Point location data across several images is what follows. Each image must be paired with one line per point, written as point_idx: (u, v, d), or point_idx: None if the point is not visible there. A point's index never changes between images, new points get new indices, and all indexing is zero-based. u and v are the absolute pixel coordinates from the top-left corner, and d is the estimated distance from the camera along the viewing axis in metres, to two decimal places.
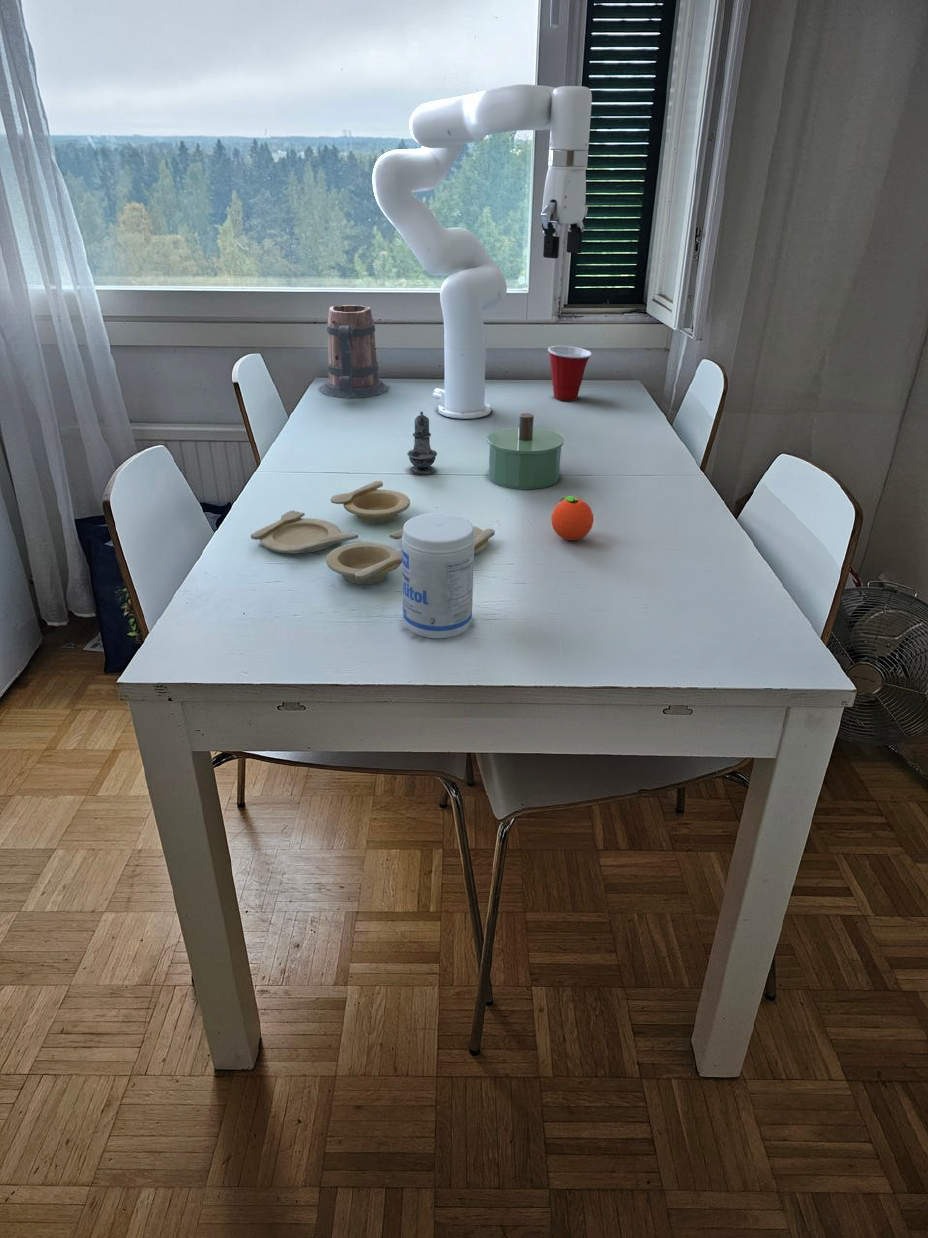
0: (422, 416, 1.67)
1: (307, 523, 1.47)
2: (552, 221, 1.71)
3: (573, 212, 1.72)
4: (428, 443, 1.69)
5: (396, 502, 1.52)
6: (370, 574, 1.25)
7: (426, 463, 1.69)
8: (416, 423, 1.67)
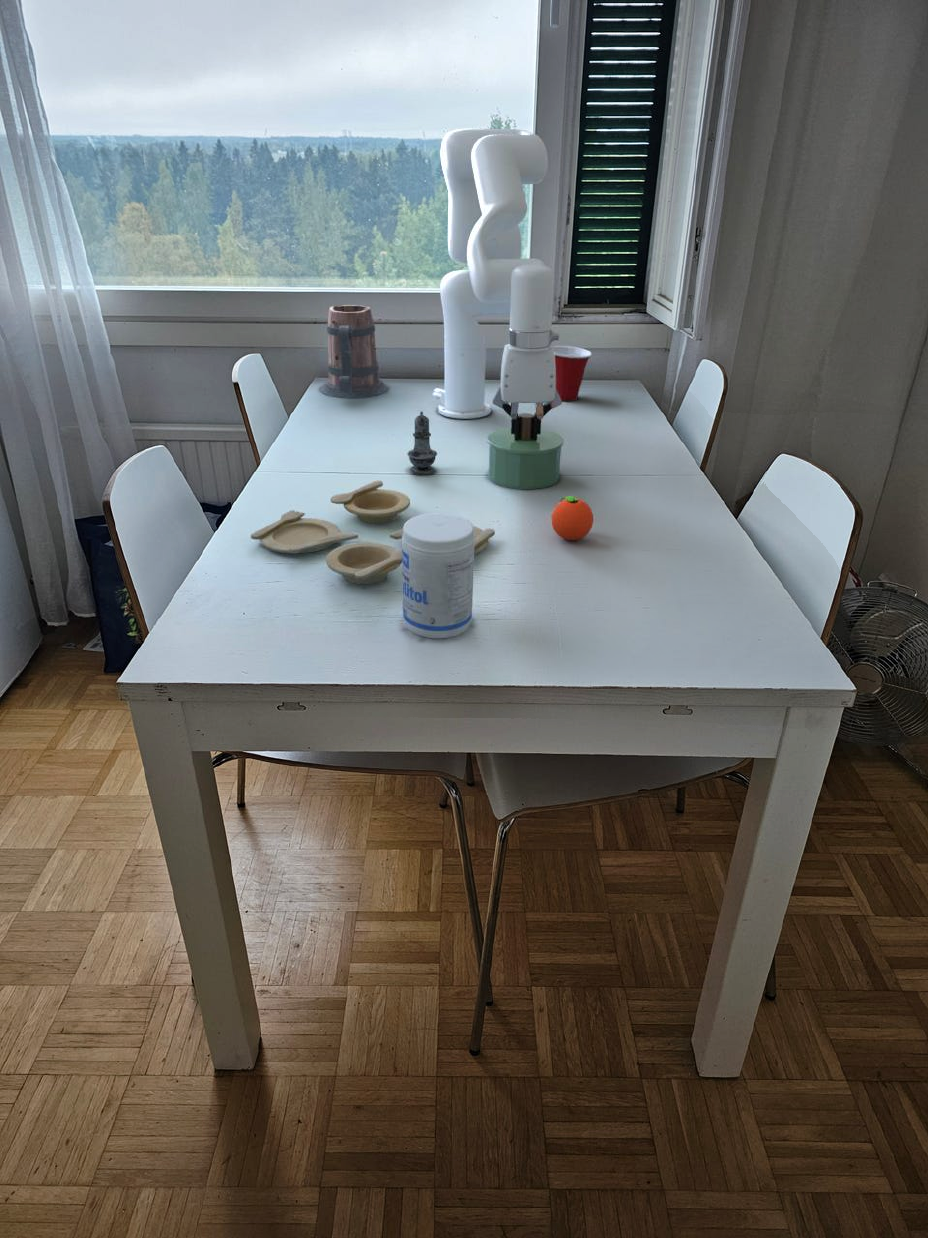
0: (422, 416, 1.67)
1: (307, 522, 1.47)
2: None
3: (524, 392, 1.60)
4: (428, 443, 1.69)
5: (396, 502, 1.52)
6: (370, 574, 1.25)
7: (426, 463, 1.69)
8: (416, 423, 1.67)
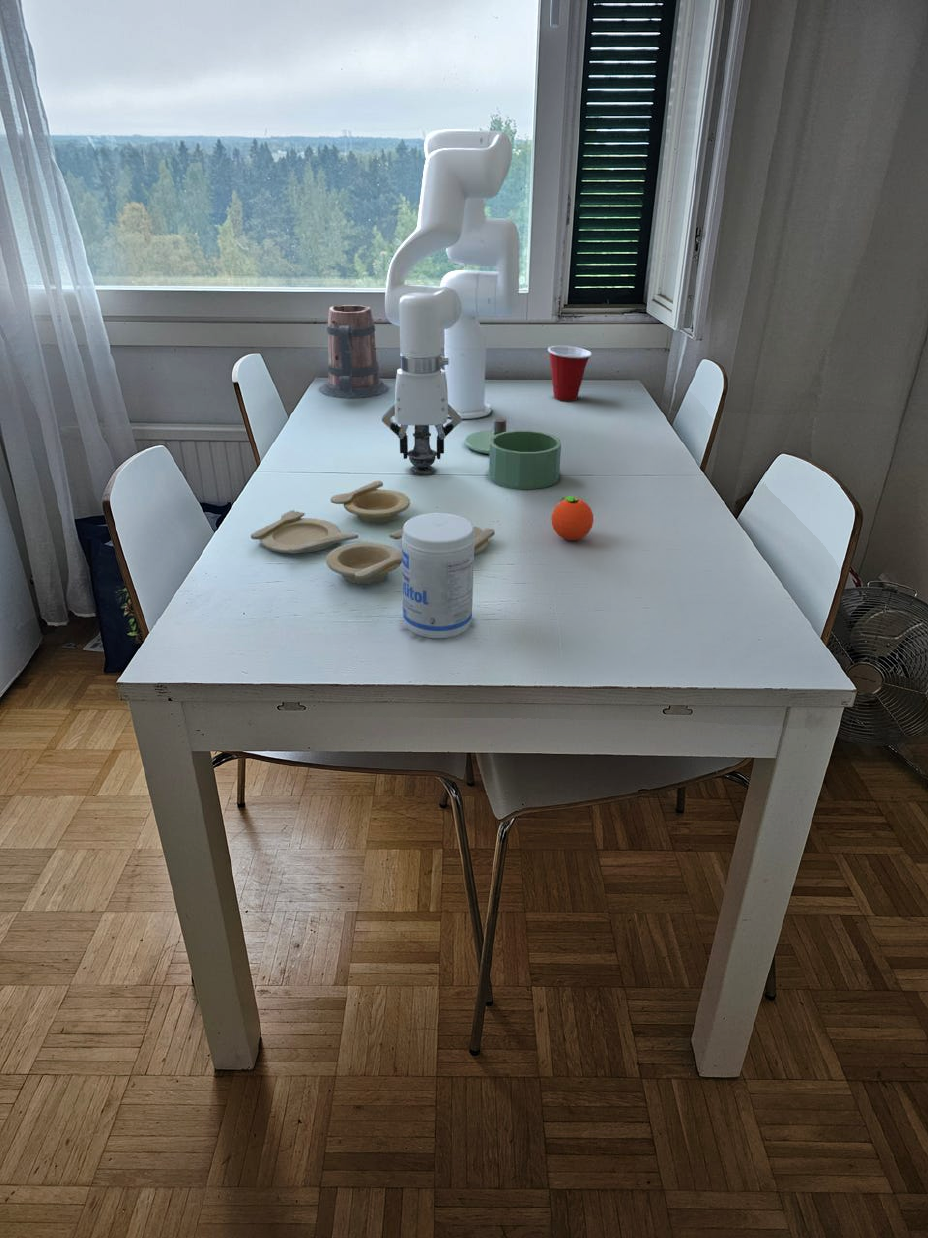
0: None
1: (307, 522, 1.47)
2: None
3: (417, 415, 1.65)
4: (428, 443, 1.69)
5: (396, 502, 1.52)
6: (370, 574, 1.25)
7: (426, 463, 1.69)
8: None
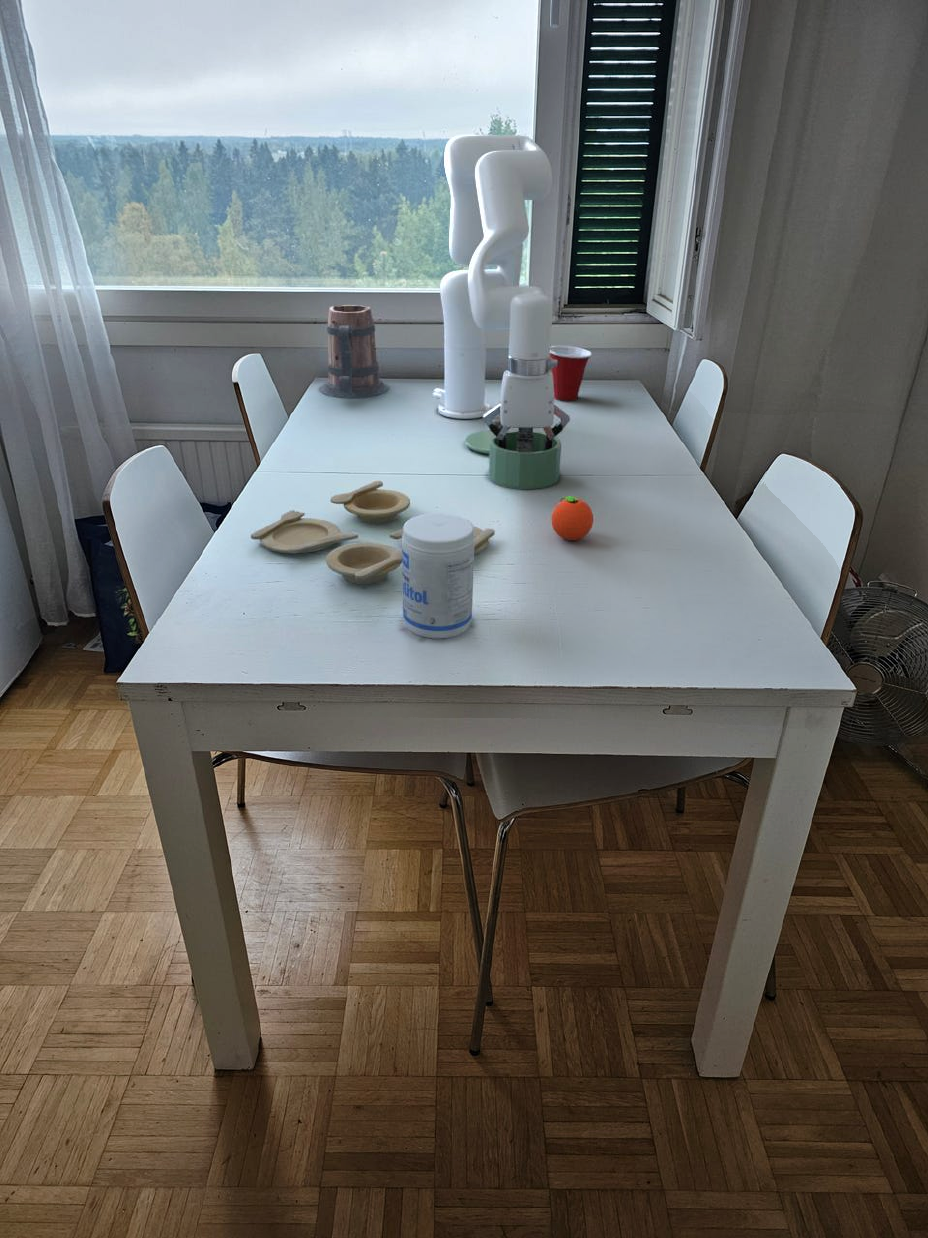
0: None
1: (307, 522, 1.47)
2: None
3: (523, 417, 1.62)
4: (531, 446, 1.66)
5: (396, 502, 1.52)
6: (370, 574, 1.25)
7: None
8: None
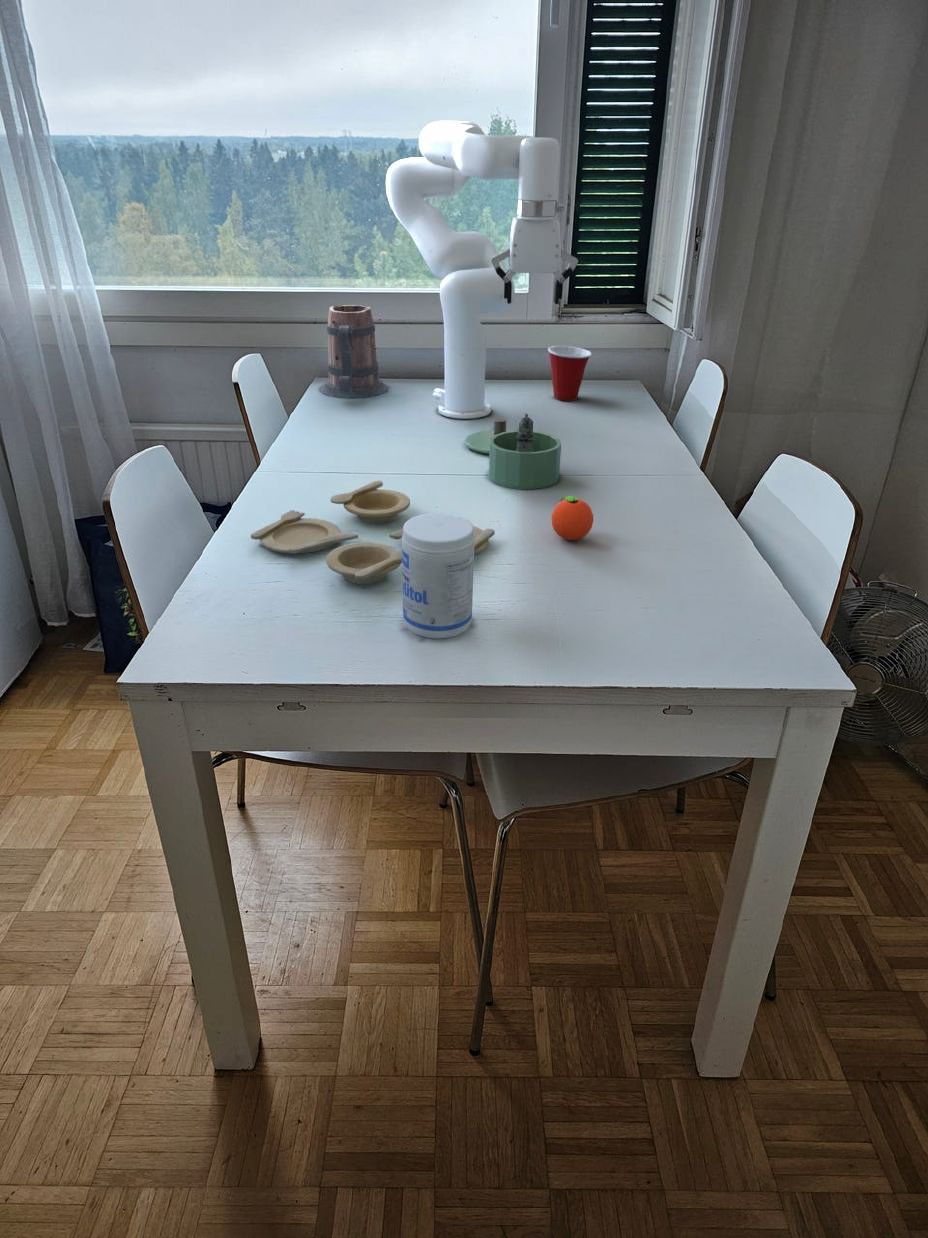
0: (527, 418, 1.64)
1: (307, 522, 1.47)
2: None
3: (531, 261, 1.71)
4: (531, 446, 1.66)
5: (396, 502, 1.52)
6: (370, 574, 1.25)
7: None
8: (521, 425, 1.64)
